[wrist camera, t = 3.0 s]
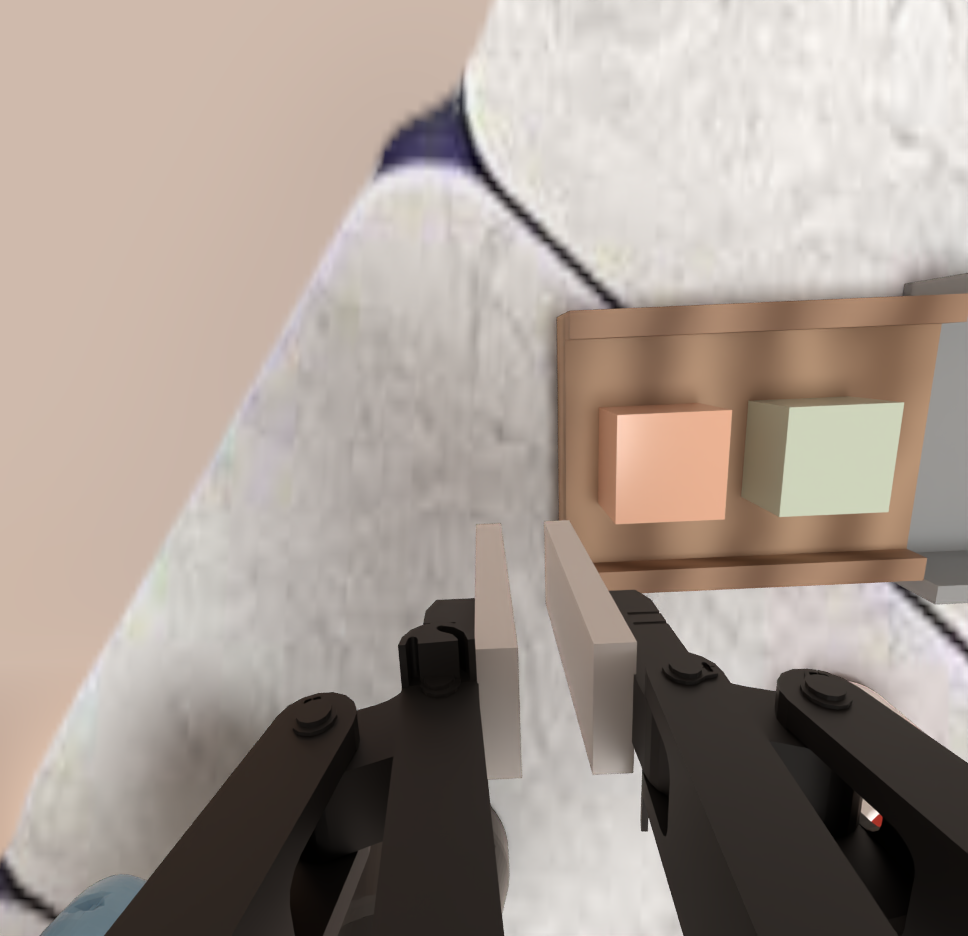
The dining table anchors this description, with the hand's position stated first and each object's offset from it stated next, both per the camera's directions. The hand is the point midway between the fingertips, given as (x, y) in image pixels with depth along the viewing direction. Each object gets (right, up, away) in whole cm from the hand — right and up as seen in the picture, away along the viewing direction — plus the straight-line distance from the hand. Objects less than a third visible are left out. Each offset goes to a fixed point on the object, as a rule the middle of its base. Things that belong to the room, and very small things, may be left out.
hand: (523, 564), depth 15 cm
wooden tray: (+15, +5, +18) cm, 24 cm away
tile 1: (+18, +4, +15) cm, 24 cm away
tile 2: (+9, +4, +15) cm, 18 cm away
